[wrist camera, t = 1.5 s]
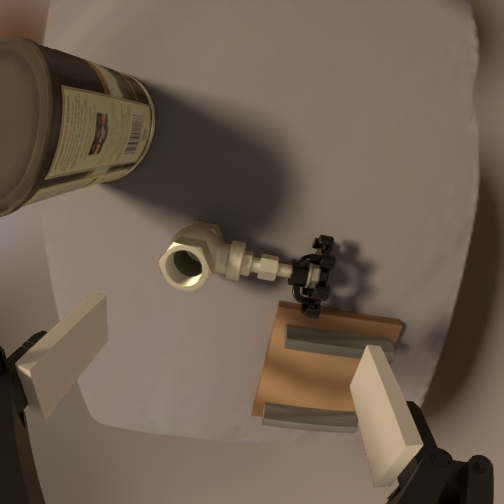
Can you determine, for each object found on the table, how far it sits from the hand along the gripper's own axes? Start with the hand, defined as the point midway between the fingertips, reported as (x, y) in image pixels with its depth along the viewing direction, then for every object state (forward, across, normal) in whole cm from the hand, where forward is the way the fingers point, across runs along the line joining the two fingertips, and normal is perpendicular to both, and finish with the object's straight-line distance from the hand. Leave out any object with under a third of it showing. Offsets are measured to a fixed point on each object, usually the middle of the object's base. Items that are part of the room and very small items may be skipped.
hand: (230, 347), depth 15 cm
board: (+14, +9, -10) cm, 19 cm away
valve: (+14, 0, +1) cm, 14 cm away
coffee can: (+14, -15, +10) cm, 22 cm away
